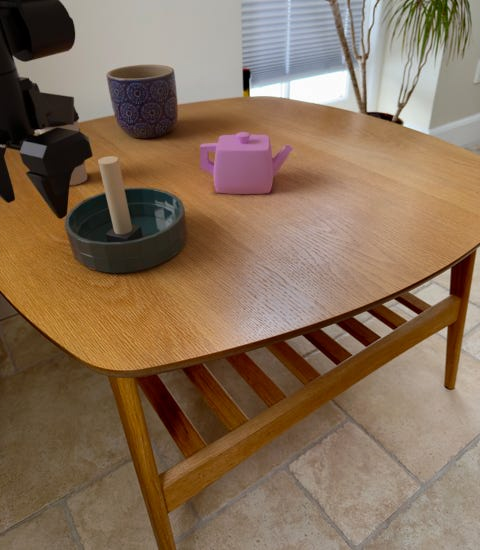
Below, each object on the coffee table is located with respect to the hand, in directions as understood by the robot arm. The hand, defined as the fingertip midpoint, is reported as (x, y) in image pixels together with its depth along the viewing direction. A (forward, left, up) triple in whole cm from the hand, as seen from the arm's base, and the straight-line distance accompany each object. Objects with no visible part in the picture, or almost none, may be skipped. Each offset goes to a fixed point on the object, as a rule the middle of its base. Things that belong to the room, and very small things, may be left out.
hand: (36, 208), depth 53 cm
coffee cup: (0, +39, -13) cm, 42 cm away
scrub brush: (+9, +9, -13) cm, 18 cm away
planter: (+19, +64, -13) cm, 69 cm away
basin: (+10, +10, -13) cm, 19 cm away
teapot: (+34, +25, -13) cm, 45 cm away
